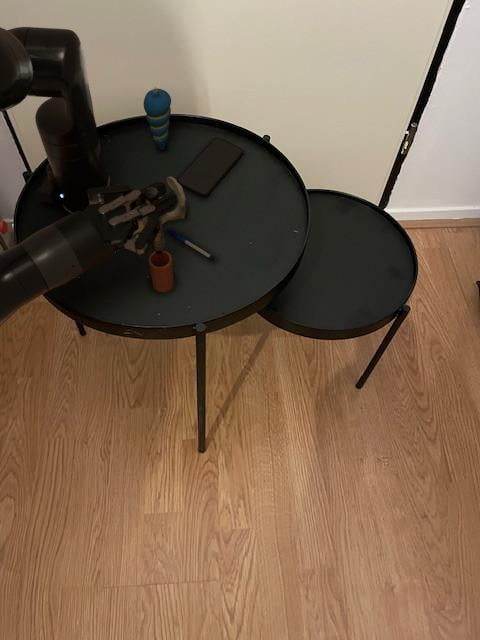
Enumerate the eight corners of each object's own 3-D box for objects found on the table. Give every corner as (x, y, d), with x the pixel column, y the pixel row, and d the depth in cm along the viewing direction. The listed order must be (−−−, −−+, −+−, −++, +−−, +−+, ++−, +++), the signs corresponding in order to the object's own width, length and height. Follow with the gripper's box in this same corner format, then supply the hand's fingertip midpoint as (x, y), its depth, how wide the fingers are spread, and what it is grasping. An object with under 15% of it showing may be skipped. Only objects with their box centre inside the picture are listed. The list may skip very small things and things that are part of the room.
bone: (127, 218, 101) (141, 167, 96) (145, 210, 107) (158, 161, 102) (167, 239, 100) (183, 188, 95) (183, 229, 106) (198, 181, 101)
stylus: (150, 255, 88) (141, 195, 77) (155, 245, 89) (146, 185, 78) (162, 258, 88) (155, 198, 76) (167, 248, 89) (160, 188, 77)
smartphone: (174, 181, 108) (215, 135, 114) (174, 184, 108) (215, 139, 115) (206, 196, 106) (246, 149, 113) (206, 200, 107) (245, 153, 113)
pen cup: (149, 289, 96) (145, 265, 90) (156, 272, 98) (153, 248, 92) (170, 294, 95) (167, 270, 89) (176, 277, 97) (174, 253, 91)
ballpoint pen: (166, 233, 102) (166, 230, 101) (169, 230, 102) (169, 227, 102) (212, 261, 99) (212, 258, 98) (215, 258, 100) (215, 254, 99)
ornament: (178, 144, 114) (173, 80, 101) (169, 161, 112) (164, 98, 99) (154, 139, 115) (147, 74, 102) (145, 155, 112) (136, 92, 99)
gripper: (86, 267, 68) (198, 202, 74) (30, 200, 73) (139, 145, 79) (97, 300, 74) (199, 238, 80) (44, 237, 79) (144, 183, 86)
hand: (169, 192), depth 80 cm, fingers closed on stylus, 2 cm apart
